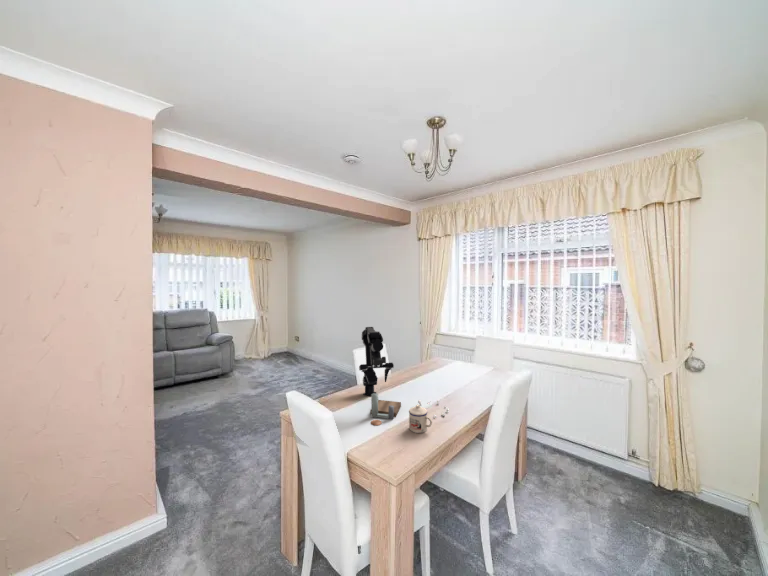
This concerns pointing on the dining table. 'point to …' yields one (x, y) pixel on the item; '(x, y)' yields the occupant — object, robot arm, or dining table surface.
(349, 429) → the dining table surface
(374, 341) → the robot arm
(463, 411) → the dining table surface
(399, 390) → the dining table surface
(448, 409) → the game piece set
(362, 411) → the dining table surface
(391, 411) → the grey u-shaped piece
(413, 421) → the teacup with lid
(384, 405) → the stool seat
